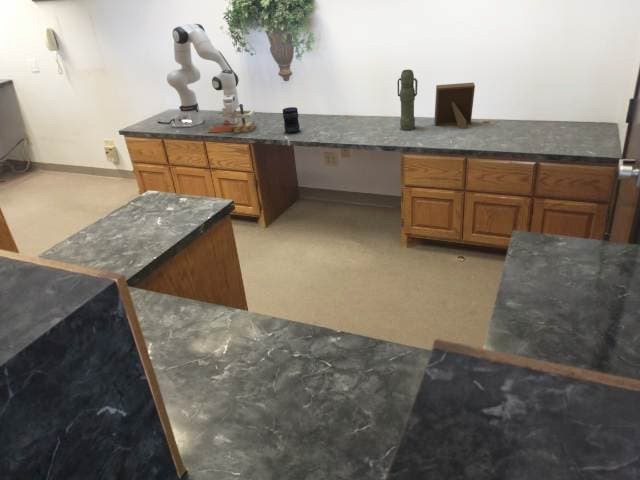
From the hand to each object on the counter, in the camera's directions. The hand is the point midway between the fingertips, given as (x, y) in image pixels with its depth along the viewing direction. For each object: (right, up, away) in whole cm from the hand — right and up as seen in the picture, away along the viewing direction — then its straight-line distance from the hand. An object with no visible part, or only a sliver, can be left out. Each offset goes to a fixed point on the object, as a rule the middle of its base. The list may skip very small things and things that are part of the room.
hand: (234, 117), depth 338 cm
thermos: (+112, -12, -21) cm, 114 cm away
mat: (-11, -5, +15) cm, 19 cm away
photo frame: (+139, -12, -25) cm, 142 cm away
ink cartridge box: (-7, +2, +28) cm, 29 cm away
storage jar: (+39, -11, -6) cm, 41 cm away
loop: (+5, +2, +5) cm, 7 cm away
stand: (+6, -6, +9) cm, 13 cm away
